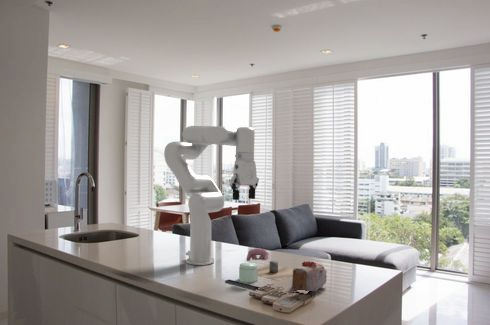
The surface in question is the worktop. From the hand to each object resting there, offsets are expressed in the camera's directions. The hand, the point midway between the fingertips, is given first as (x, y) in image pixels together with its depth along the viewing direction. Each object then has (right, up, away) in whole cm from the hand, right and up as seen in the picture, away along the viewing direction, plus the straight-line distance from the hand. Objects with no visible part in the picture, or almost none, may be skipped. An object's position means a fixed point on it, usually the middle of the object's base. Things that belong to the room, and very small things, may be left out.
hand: (243, 199), depth 162 cm
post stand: (+12, -30, -5) cm, 33 cm away
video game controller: (+6, -31, +20) cm, 37 cm away
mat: (+2, -30, -17) cm, 34 cm away
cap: (+2, -29, -17) cm, 33 cm away
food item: (+23, -30, -23) cm, 44 cm away
